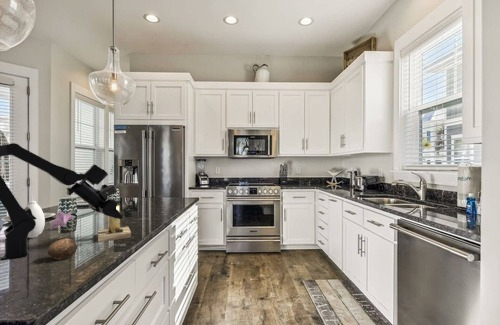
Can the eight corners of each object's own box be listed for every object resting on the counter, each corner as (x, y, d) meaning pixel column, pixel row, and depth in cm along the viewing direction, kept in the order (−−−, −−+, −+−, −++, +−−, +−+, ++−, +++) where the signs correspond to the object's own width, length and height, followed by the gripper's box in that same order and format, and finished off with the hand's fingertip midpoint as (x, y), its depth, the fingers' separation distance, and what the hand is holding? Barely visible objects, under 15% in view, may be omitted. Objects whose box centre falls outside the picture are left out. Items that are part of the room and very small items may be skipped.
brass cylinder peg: (118, 237, 110) (118, 206, 110) (107, 237, 108) (106, 206, 108) (121, 234, 114) (120, 204, 114) (110, 235, 113) (109, 205, 113)
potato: (53, 244, 90) (57, 231, 88) (78, 250, 93) (82, 238, 91) (40, 262, 83) (44, 249, 81) (67, 268, 86) (71, 256, 84)
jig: (131, 237, 109) (131, 232, 109) (98, 241, 103) (97, 236, 103) (128, 230, 119) (128, 226, 119) (98, 234, 113) (98, 230, 113)
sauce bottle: (49, 235, 112) (48, 194, 112) (29, 241, 105) (29, 196, 104) (36, 234, 114) (35, 193, 114) (15, 239, 107) (15, 196, 107)
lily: (80, 227, 131) (72, 211, 132) (80, 222, 122) (72, 206, 123) (54, 238, 124) (46, 221, 125) (52, 234, 115) (44, 216, 116)
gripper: (111, 179, 102) (140, 204, 110) (96, 177, 115) (122, 199, 123) (89, 202, 96) (120, 226, 104) (75, 197, 109) (104, 219, 117)
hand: (117, 216), depth 112 cm, fingers open, 9 cm apart
